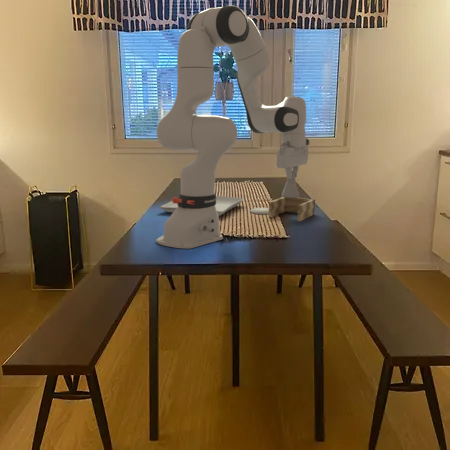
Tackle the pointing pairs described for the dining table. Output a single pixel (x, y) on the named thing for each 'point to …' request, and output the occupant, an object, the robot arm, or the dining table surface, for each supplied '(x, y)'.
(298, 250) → the dining table surface
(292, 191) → the flask
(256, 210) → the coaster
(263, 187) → the dining table surface
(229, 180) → the dining table surface
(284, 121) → the robot arm
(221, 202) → the square plate
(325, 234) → the dining table surface
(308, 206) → the u-shaped wooden frame
